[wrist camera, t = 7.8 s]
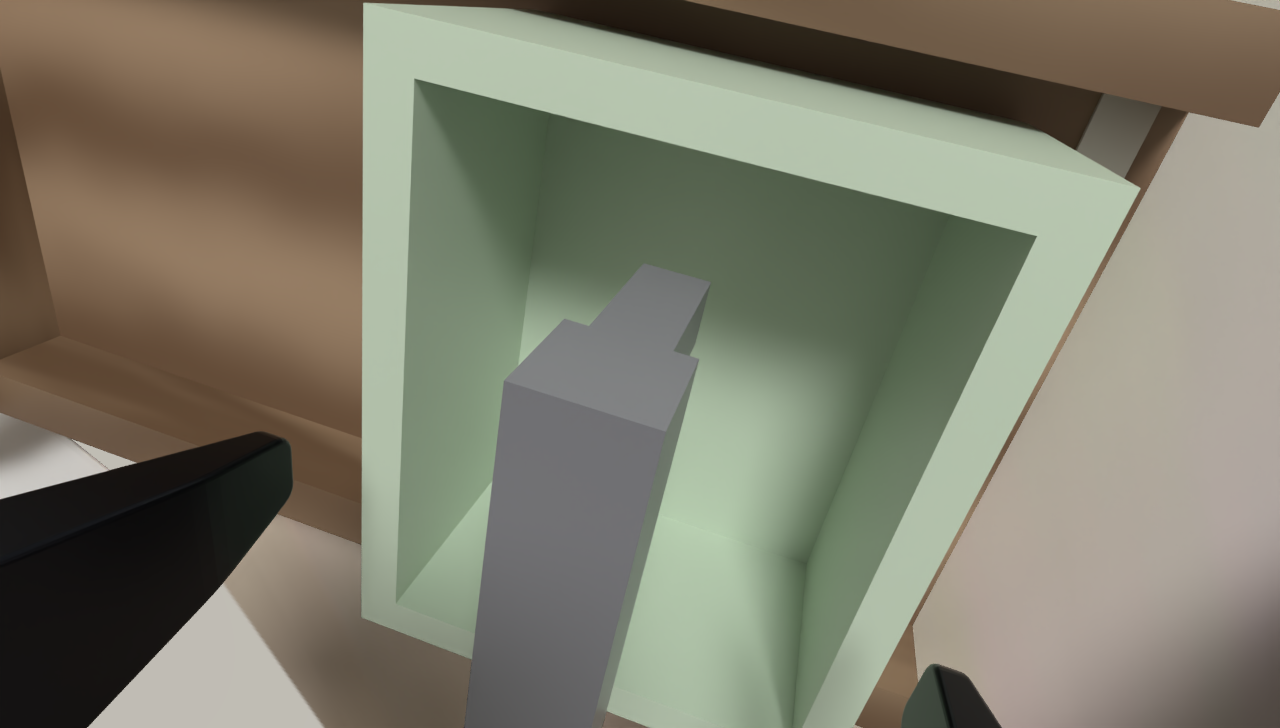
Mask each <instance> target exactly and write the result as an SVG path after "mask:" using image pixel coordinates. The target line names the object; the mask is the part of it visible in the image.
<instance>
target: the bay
mask: <svg viewBox="0 0 1280 728" xmlns="http://www.w3.org/2000/svg"><path fill="white" fill-rule="evenodd" d="M363 3H384V4H409V5H434V6H459V7H484V8H509V9H534V10H540V11H544V12H549V13H553V14H557V15H562V16H566V17H570V18H575V19H579V20H583V21H588V22H592V23H596V24H601V25H605V26H609V27H614V28H618V29H622V30H627V31H631V32H635V33H640V34H644V35H648V36H653V37H657V38H661V39H666V40H670V41H674V42H679V43H683V44H687V45H692V46H696V47H700V48H705V49H709V50H713V51H718V52H722V53H726V54H731V55H735V56H739V57H744V58H748V59H752V60H757V61H761V62H765V63H770V64H774V65H778V66H783V67H787V68H791V69H796V70H800V71H804V72H808V73H813V74H817V75H821V76H826V77H830V78H834V79H839V80H843V81H847V82H852V83H856V84H860V85H865V86H869V87H873V88H878V89H882V90H886V91H891V92H895V93H899V94H904V95H908V96H912V97H917V98H921V99H925V100H930V101H934V102H938V103H943V104H947V105H951V106H956V107H960V108H964V109H969V110H973V111H977V112H982V113H986V114H990V115H995V116H999V117H1003V118H1008V119H1012V120H1016V121H1021V122H1025V123H1029V124H1030V125H1032V126H1034V127H1036V128H1037V129H1039V130H1041V131H1042V132H1044V133H1046V134H1048V135H1049V136H1051V137H1053V138H1055V139H1056V140H1058V141H1060V142H1061V143H1063V144H1065V145H1067V146H1068V147H1070V148H1072V149H1074V150H1075V151H1077V152H1079V153H1081V154H1082V155H1084V156H1086V157H1087V158H1089V159H1091V160H1093V161H1094V162H1096V163H1098V164H1100V165H1101V166H1103V167H1105V168H1107V169H1108V170H1110V171H1112V172H1113V173H1115V174H1117V175H1119V176H1120V177H1122V178H1124V179H1126V180H1127V181H1129V182H1131V183H1132V184H1134V185H1136V186H1138V187H1139V188H1141V189H1140V191H1139V193H1138V194H1137V196H1136V198H1135V200H1134V202H1133V204H1132V206H1131V208H1130V209H1129V211H1128V213H1127V215H1126V217H1125V219H1124V221H1123V223H1122V224H1121V226H1120V228H1119V230H1118V232H1117V234H1116V236H1115V237H1114V239H1113V241H1112V243H1111V245H1110V247H1109V249H1108V251H1107V252H1106V254H1105V256H1104V258H1103V260H1102V262H1101V264H1100V266H1099V267H1098V269H1097V271H1096V273H1095V275H1094V277H1093V279H1092V281H1091V282H1090V284H1089V286H1088V288H1087V290H1086V292H1085V294H1084V296H1083V297H1082V299H1081V301H1080V303H1079V305H1078V307H1077V309H1076V311H1075V312H1074V314H1073V316H1072V318H1071V320H1070V322H1069V324H1068V326H1067V327H1066V329H1065V331H1064V333H1063V335H1062V337H1061V339H1060V341H1059V342H1058V344H1057V346H1056V348H1055V350H1054V352H1053V354H1052V356H1051V357H1050V359H1049V361H1048V363H1047V365H1046V367H1045V369H1044V371H1043V372H1042V374H1041V376H1040V378H1039V380H1038V382H1037V384H1036V386H1035V387H1034V389H1033V391H1032V393H1031V395H1030V397H1029V399H1028V401H1027V402H1026V404H1025V406H1024V408H1023V410H1022V412H1021V414H1020V416H1019V417H1018V419H1017V421H1016V423H1015V425H1014V427H1013V429H1012V431H1011V432H1010V434H1009V436H1008V438H1007V440H1006V442H1005V444H1004V446H1003V447H1002V449H1001V451H1000V453H999V455H998V457H997V459H996V461H995V462H994V464H993V466H992V468H991V470H990V472H989V474H988V476H987V477H986V479H985V481H984V483H983V485H982V487H981V489H980V491H979V492H978V494H977V496H976V498H975V500H974V502H973V504H972V506H971V507H970V509H969V511H968V513H967V515H966V517H965V519H964V521H963V522H962V524H961V526H960V528H959V530H958V532H957V534H956V536H955V537H954V539H953V541H952V543H951V545H950V547H949V549H948V551H947V552H946V554H945V556H944V558H943V560H942V562H941V564H940V566H939V567H938V569H937V571H936V573H935V575H934V577H933V579H932V581H931V582H930V584H929V586H928V588H927V590H926V592H925V594H924V595H923V597H922V599H921V601H920V603H919V605H918V607H917V609H916V610H915V612H914V614H913V616H912V618H911V620H910V622H909V624H908V625H907V627H906V629H905V631H904V633H903V635H902V637H901V639H900V640H899V642H898V644H897V646H896V648H895V650H894V652H893V654H892V655H891V657H890V659H889V661H888V663H887V665H886V667H885V669H884V670H883V672H882V674H881V676H880V678H879V680H878V682H877V684H876V685H875V687H874V689H873V691H872V693H871V695H870V697H869V699H868V700H867V702H866V704H865V706H864V708H863V710H862V712H861V714H860V715H859V717H858V719H857V721H856V723H855V725H857V726H860V727H862V728H901V721H902V715H903V711H904V708H905V705H906V703H907V701H908V699H909V698H910V696H911V694H912V692H913V691H914V689H915V687H916V686H917V684H918V678H917V668H916V657H915V647H914V637H913V627H912V625H913V623H914V622H915V620H916V618H917V616H918V614H919V612H920V610H921V609H922V607H923V605H924V603H925V601H926V599H927V597H928V596H929V594H930V592H931V590H932V588H933V586H934V584H935V583H936V581H937V579H938V577H939V575H940V573H941V571H942V570H943V568H944V566H945V564H946V562H947V560H948V558H949V557H950V555H951V553H952V551H953V549H954V547H955V545H956V544H957V542H958V540H959V538H960V536H961V534H962V532H963V531H964V529H965V527H966V525H967V523H968V521H969V519H970V518H971V516H972V514H973V512H974V510H975V508H976V506H977V505H978V503H979V501H980V499H981V497H982V495H983V493H984V492H985V490H986V488H987V486H988V484H989V482H990V480H991V479H992V477H993V475H994V473H995V471H996V469H997V467H998V466H999V464H1000V462H1001V460H1002V458H1003V456H1004V454H1005V453H1006V451H1007V449H1008V447H1009V445H1010V443H1011V441H1012V440H1013V438H1014V436H1015V434H1016V432H1017V430H1018V428H1019V427H1020V425H1021V423H1022V421H1023V419H1024V417H1025V415H1026V414H1027V412H1028V410H1029V408H1030V406H1031V404H1032V402H1033V401H1034V399H1035V397H1036V395H1037V393H1038V391H1039V389H1040V388H1041V386H1042V384H1043V382H1044V380H1045V378H1046V376H1047V375H1048V373H1049V371H1050V369H1051V367H1052V365H1053V363H1054V362H1055V360H1056V358H1057V356H1058V354H1059V352H1060V350H1061V349H1062V347H1063V345H1064V343H1065V341H1066V339H1067V337H1068V336H1069V334H1070V332H1071V330H1072V328H1073V326H1074V324H1075V322H1076V321H1077V319H1078V317H1079V315H1080V313H1081V311H1082V309H1083V308H1084V306H1085V304H1086V302H1087V300H1088V298H1089V296H1090V295H1091V293H1092V291H1093V289H1094V287H1095V285H1096V283H1097V282H1098V280H1099V278H1100V276H1101V274H1102V272H1103V270H1104V269H1105V267H1106V265H1107V263H1108V261H1109V259H1110V257H1111V256H1112V254H1113V252H1114V250H1115V248H1116V246H1117V244H1118V243H1119V241H1120V239H1121V237H1122V235H1123V233H1124V231H1125V230H1126V228H1127V226H1128V224H1129V222H1130V220H1131V218H1132V217H1133V215H1134V213H1135V211H1136V209H1137V207H1138V205H1139V204H1140V202H1141V200H1142V198H1143V196H1144V194H1145V192H1146V191H1147V189H1148V187H1149V185H1150V183H1151V181H1152V179H1153V178H1154V176H1155V174H1156V172H1157V170H1158V168H1159V166H1160V165H1161V163H1162V161H1163V159H1164V157H1165V155H1166V153H1167V152H1168V150H1169V148H1170V146H1171V144H1172V142H1173V140H1174V139H1175V137H1176V135H1177V133H1178V131H1179V129H1180V127H1181V126H1182V124H1183V122H1184V120H1185V118H1186V116H1187V114H1188V113H1189V112H1191V113H1195V114H1200V115H1204V116H1209V117H1213V118H1218V119H1222V120H1227V121H1231V122H1236V123H1240V124H1245V125H1249V126H1254V127H1258V128H1259V126H1260V125H1261V123H1262V121H1263V120H1264V118H1265V116H1266V114H1267V113H1268V111H1269V109H1270V108H1271V106H1272V104H1273V103H1274V101H1275V99H1276V97H1277V96H1278V94H1279V92H1280V10H1277V9H1271V8H1266V7H1261V6H1256V5H1251V4H1246V3H1241V2H1236V1H1231V0H0V413H2V414H5V415H8V416H10V417H13V418H16V419H19V420H21V421H24V422H27V423H29V424H32V425H35V426H38V427H40V428H43V429H46V430H49V431H51V432H54V433H57V434H60V435H62V436H65V437H68V438H71V439H73V440H76V441H79V442H82V443H85V444H87V445H90V446H93V447H95V448H98V449H101V450H103V451H106V452H109V453H112V454H115V455H117V456H120V457H123V458H125V459H129V460H131V461H134V462H136V463H139V462H143V461H147V460H151V459H154V458H158V457H162V456H166V455H169V454H173V453H177V452H181V451H185V450H188V449H192V448H196V447H200V446H204V445H207V444H211V443H215V442H219V441H223V440H226V439H230V438H234V437H238V436H242V435H245V434H249V433H253V432H257V431H264V432H268V433H271V434H274V435H277V436H280V437H283V438H285V439H286V440H288V441H289V443H290V445H291V449H292V467H293V489H292V492H291V495H290V497H289V499H288V500H287V502H286V503H285V505H284V506H283V507H282V508H281V510H280V511H279V512H278V514H279V515H282V516H284V517H287V518H290V519H293V520H295V521H298V522H301V523H303V524H306V525H309V526H312V527H314V528H317V529H320V530H323V531H325V532H328V533H331V534H334V535H336V536H339V537H342V538H345V539H347V540H350V541H353V542H356V543H358V544H361V545H362V253H363Z"/></svg>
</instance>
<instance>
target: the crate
mask: <svg viewBox="0 0 1280 728" xmlns="http://www.w3.org/2000/svg"><path fill="white" fill-rule="evenodd" d="M1140 189H1141V188H1139V187H1138V186H1136V185H1134V184H1132V183H1131V182H1129V181H1127V180H1126V179H1124V178H1122V177H1120V176H1119V175H1117V174H1115V173H1113V172H1112V171H1110V170H1108V169H1107V168H1105V167H1103V166H1101V165H1100V164H1098V163H1096V162H1094V161H1093V160H1091V159H1089V158H1087V157H1086V156H1084V155H1082V154H1081V153H1079V152H1077V151H1075V150H1074V149H1072V148H1070V147H1068V146H1067V145H1065V144H1063V143H1061V142H1060V141H1058V140H1056V139H1055V138H1053V137H1051V136H1049V135H1048V134H1046V133H1044V132H1042V131H1041V130H1039V129H1037V128H1036V127H1034V126H1032V125H1030V124H1029V123H1025V122H1021V121H1016V120H1012V119H1008V118H1003V117H999V116H995V115H990V114H986V113H982V112H977V111H973V110H969V109H964V108H960V107H956V106H951V105H947V104H943V103H938V102H934V101H930V100H925V99H921V98H917V97H912V96H908V95H904V94H899V93H895V92H891V91H886V90H882V89H878V88H873V87H869V86H865V85H860V84H856V83H852V82H847V81H843V80H839V79H834V78H830V77H826V76H821V75H817V74H813V73H808V72H804V71H800V70H796V69H791V68H787V67H783V66H778V65H774V64H770V63H765V62H761V61H757V60H752V59H748V58H744V57H739V56H735V55H731V54H726V53H722V52H718V51H713V50H709V49H705V48H700V47H696V46H692V45H687V44H683V43H679V42H674V41H670V40H666V39H661V38H657V37H653V36H648V35H644V34H640V33H635V32H631V31H627V30H622V29H618V28H614V27H609V26H605V25H601V24H596V23H592V22H588V21H583V20H579V19H575V18H570V17H566V16H562V15H557V14H553V13H549V12H544V11H540V10H534V9H509V8H484V7H459V6H434V5H409V4H384V3H363V253H362V563H361V618H364V619H367V620H369V621H372V622H374V623H377V624H380V625H382V626H385V627H387V628H390V629H393V630H395V631H398V632H401V633H403V634H406V635H408V636H411V637H414V638H416V639H419V640H422V641H424V642H427V643H429V644H432V645H435V646H437V647H440V648H442V649H445V650H448V651H450V652H453V653H456V654H458V655H461V656H463V657H466V658H469V659H471V660H472V663H471V672H470V681H469V690H468V698H467V707H466V716H465V725H464V728H602V727H603V723H604V719H605V715H606V711H607V712H610V713H613V714H615V715H618V716H620V717H623V718H626V719H628V720H631V721H634V722H636V723H639V724H641V725H644V726H647V727H649V728H853V727H854V725H855V723H856V721H857V719H858V717H859V715H860V714H861V712H862V710H863V708H864V706H865V704H866V702H867V700H868V699H869V697H870V695H871V693H872V691H873V689H874V687H875V685H876V684H877V682H878V680H879V678H880V676H881V674H882V672H883V670H884V669H885V667H886V665H887V663H888V661H889V659H890V657H891V655H892V654H893V652H894V650H895V648H896V646H897V644H898V642H899V640H900V639H901V637H902V635H903V633H904V631H905V629H906V627H907V625H908V624H909V622H910V620H911V618H912V616H913V614H914V612H915V610H916V609H917V607H918V605H919V603H920V601H921V599H922V597H923V595H924V594H925V592H926V590H927V588H928V586H929V584H930V582H931V581H932V579H933V577H934V575H935V573H936V571H937V569H938V567H939V566H940V564H941V562H942V560H943V558H944V556H945V554H946V552H947V551H948V549H949V547H950V545H951V543H952V541H953V539H954V537H955V536H956V534H957V532H958V530H959V528H960V526H961V524H962V522H963V521H964V519H965V517H966V515H967V513H968V511H969V509H970V507H971V506H972V504H973V502H974V500H975V498H976V496H977V494H978V492H979V491H980V489H981V487H982V485H983V483H984V481H985V479H986V477H987V476H988V474H989V472H990V470H991V468H992V466H993V464H994V462H995V461H996V459H997V457H998V455H999V453H1000V451H1001V449H1002V447H1003V446H1004V444H1005V442H1006V440H1007V438H1008V436H1009V434H1010V432H1011V431H1012V429H1013V427H1014V425H1015V423H1016V421H1017V419H1018V417H1019V416H1020V414H1021V412H1022V410H1023V408H1024V406H1025V404H1026V402H1027V401H1028V399H1029V397H1030V395H1031V393H1032V391H1033V389H1034V387H1035V386H1036V384H1037V382H1038V380H1039V378H1040V376H1041V374H1042V372H1043V371H1044V369H1045V367H1046V365H1047V363H1048V361H1049V359H1050V357H1051V356H1052V354H1053V352H1054V350H1055V348H1056V346H1057V344H1058V342H1059V341H1060V339H1061V337H1062V335H1063V333H1064V331H1065V329H1066V327H1067V326H1068V324H1069V322H1070V320H1071V318H1072V316H1073V314H1074V312H1075V311H1076V309H1077V307H1078V305H1079V303H1080V301H1081V299H1082V297H1083V296H1084V294H1085V292H1086V290H1087V288H1088V286H1089V284H1090V282H1091V281H1092V279H1093V277H1094V275H1095V273H1096V271H1097V269H1098V267H1099V266H1100V264H1101V262H1102V260H1103V258H1104V256H1105V254H1106V252H1107V251H1108V249H1109V247H1110V245H1111V243H1112V241H1113V239H1114V237H1115V236H1116V234H1117V232H1118V230H1119V228H1120V226H1121V224H1122V223H1123V221H1124V219H1125V217H1126V215H1127V213H1128V211H1129V209H1130V208H1131V206H1132V204H1133V202H1134V200H1135V198H1136V196H1137V194H1138V193H1139V191H1140Z"/></svg>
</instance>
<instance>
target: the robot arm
mask: <svg viewBox="0 0 1280 728" xmlns="http://www.w3.org/2000/svg"><path fill="white" fill-rule="evenodd" d="M292 489H293V467H292V449H291V445H290V443H289V441H288V440H286V439H285V438H283V437H280V436H277V435H274V434H271V433H268V432H264V431H257V432H253V433H249V434H245V435H242V436H238V437H234V438H230V439H226V440H223V441H219V442H215V443H211V444H207V445H204V446H200V447H196V448H192V449H188V450H185V451H181V452H177V453H173V454H169V455H166V456H162V457H158V458H154V459H151V460H147V461H143V462H139V463H135V464H132V465H128V466H124V467H120V468H117V469H113V470H109V471H105V472H101V473H97V474H94V475H90V476H86V477H82V478H78V479H75V480H71V481H67V482H63V483H59V484H56V485H52V486H48V487H44V488H40V489H37V490H33V491H29V492H25V493H22V494H18V495H14V496H10V497H6V498H3V499H0V728H87V727H88V726H89V725H90V724H91V723H92V722H93V721H94V720H95V719H96V718H97V717H98V716H99V714H101V712H102V711H103V710H104V709H105V708H106V707H107V706H108V705H109V704H110V703H111V702H112V701H113V700H114V699H115V698H116V697H117V695H118V694H119V693H120V692H121V691H122V690H123V689H124V688H125V687H126V686H127V685H128V684H129V683H130V682H131V681H132V680H133V679H134V678H135V677H136V675H137V674H138V673H139V672H140V671H141V670H142V669H143V668H144V667H145V666H146V665H147V664H148V663H149V662H150V661H151V660H152V659H153V658H154V657H155V655H156V654H157V653H158V652H159V651H160V650H161V649H162V648H163V647H164V646H165V645H166V644H167V643H168V642H169V641H170V640H171V639H172V638H173V636H174V635H175V634H176V633H177V632H178V631H179V630H180V629H181V628H182V627H183V626H184V625H185V624H186V623H187V622H188V621H189V620H190V619H191V617H192V616H193V615H194V614H195V613H196V612H197V611H198V610H199V609H200V608H201V607H202V606H203V605H204V604H205V603H206V601H207V600H208V599H209V598H210V597H211V596H212V595H213V594H214V593H215V592H216V590H217V589H218V588H219V587H220V586H221V585H222V584H223V582H224V581H225V580H226V579H227V578H228V576H229V575H230V574H231V573H232V571H233V570H234V569H235V568H236V566H237V565H238V564H239V562H240V561H241V560H242V559H243V557H244V556H245V555H246V553H247V552H248V551H249V550H250V548H251V547H252V546H253V544H254V543H255V542H256V541H257V539H258V538H259V537H260V535H261V534H262V533H263V532H264V530H265V529H266V528H267V526H268V525H269V524H270V523H271V521H272V520H273V519H274V517H275V516H276V515H277V514H278V512H279V511H280V510H281V508H282V507H283V506H284V505H285V503H286V502H287V500H288V499H289V497H290V495H291V492H292ZM901 728H1002V727H1001V726H1000V724H999V723H998V721H997V720H996V718H995V716H994V715H993V713H992V712H991V710H990V709H989V707H988V706H987V704H986V703H985V701H984V700H983V698H982V697H981V695H980V694H979V692H978V691H977V689H976V688H975V686H974V684H973V683H972V681H971V680H970V679H969V678H968V677H967V676H966V675H965V674H964V673H962V672H959V671H957V670H954V669H951V668H948V667H945V666H942V665H939V664H931V665H930V666H928V667H927V669H926V670H925V672H924V673H923V675H922V677H921V679H920V680H919V682H918V684H917V686H916V687H915V689H914V691H913V692H912V694H911V696H910V698H909V699H908V701H907V703H906V705H905V708H904V711H903V715H902V721H901Z"/></svg>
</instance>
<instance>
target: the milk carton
mask: <svg viewBox="0 0 1280 728" xmlns="http://www.w3.org/2000/svg"><path fill="white" fill-rule="evenodd" d="M105 471H109V469H108V468H107V467H105V466H104V465H103V464H102V463H100V462H99V461H98V460H97V459H95V458H94V457H93V456H91V455H90V454H89V453H88V452H87V451H85V450H84V449H83V448H81V446H79V445H78V444H77V443H76V442H74V441H73V440H72V439H71V438H68V437H65V436H62V435H60V434H57V433H54V432H51V431H49V430H46V429H43V428H40V427H38V426H35V425H32V424H29V423H27V422H24V421H21V420H19V419H16V418H13V417H10V416H8V415H5V414H2V413H0V499H3V498H6V497H10V496H14V495H18V494H22V493H25V492H29V491H33V490H37V489H40V488H44V487H48V486H52V485H56V484H59V483H63V482H67V481H71V480H75V479H78V478H82V477H86V476H90V475H94V474H97V473H101V472H105Z"/></svg>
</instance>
